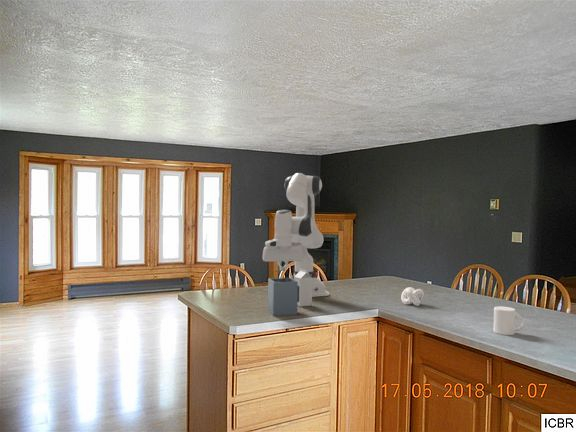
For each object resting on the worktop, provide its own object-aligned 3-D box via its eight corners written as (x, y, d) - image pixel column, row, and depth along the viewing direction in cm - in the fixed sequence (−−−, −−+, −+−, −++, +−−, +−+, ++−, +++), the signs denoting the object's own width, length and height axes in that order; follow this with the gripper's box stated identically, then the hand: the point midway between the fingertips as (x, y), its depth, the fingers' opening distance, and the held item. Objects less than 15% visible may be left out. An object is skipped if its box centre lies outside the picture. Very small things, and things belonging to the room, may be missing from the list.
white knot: (416, 301, 251) (416, 286, 250) (429, 306, 239) (429, 289, 239) (398, 303, 247) (398, 286, 247) (410, 307, 236) (411, 290, 236)
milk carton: (300, 306, 233) (300, 270, 233) (293, 304, 240) (294, 269, 239) (311, 305, 237) (312, 270, 236) (305, 303, 243) (305, 268, 243)
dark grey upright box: (295, 308, 229) (295, 277, 228) (301, 314, 217) (302, 281, 217) (267, 310, 225) (268, 278, 225) (273, 315, 213) (273, 282, 213)
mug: (491, 305, 194) (521, 307, 191) (491, 329, 194) (521, 331, 191) (496, 309, 186) (527, 311, 183) (495, 334, 186) (527, 336, 183)
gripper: (301, 242, 226) (300, 269, 226) (261, 242, 221) (261, 269, 221) (305, 242, 220) (304, 270, 220) (264, 243, 214) (264, 271, 215)
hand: (282, 270), depth 220 cm, fingers closed
